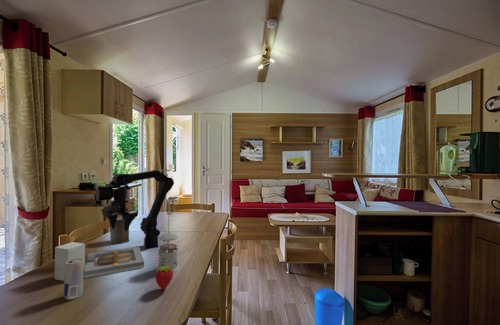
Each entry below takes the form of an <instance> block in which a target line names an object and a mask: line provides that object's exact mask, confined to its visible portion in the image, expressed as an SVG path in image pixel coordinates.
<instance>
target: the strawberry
mask: <svg viewBox="0 0 500 325" xmlns="http://www.w3.org/2000/svg"><path fill="white" fill-rule="evenodd" d="M169 267H170V266H166V265H165V266H163V267H160V268H158V267H157V268H158V269H160V270H158V272H157V271H156V273H155V277H154V278H155V282H156V284H157V285H158V287H159V288H160V289H161V291H165V290H166V289H167V287H168V286H169V285H170V283H171V281H172V279H173V276H174V272H173V270H172V269H171V268H169Z"/></svg>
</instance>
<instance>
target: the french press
mask: <svg viewBox="0 0 500 325" xmlns="http://www.w3.org/2000/svg"><path fill="white" fill-rule="evenodd" d="M166 215H172V211H170V210H169V211H166ZM167 220H168V222H167V223H168V224H167V226H168V227H167V228H168V230H167V231H168V232H167V233H163V234H160V235H159V236H158V240H159V241H163V242H167V243H163V244H162V245H159V250H158V267H157V268H156V269H155V271H156V273H157V272H158V270H160V269H158V268H160V267H163V266H165V265H166V266H170V267H169V268H171V269H172V270H173V273H175V272H177V271H179V269H180V266H179V265H178V248H177V247H178V246H177V244H176V243H170V242H169V241H171V242H172V241H174V240H177V239H178V238H179V236H178V235H177V234H176V233H171V232H170V217H168V219H167Z"/></svg>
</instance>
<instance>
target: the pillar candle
mask: <svg viewBox="0 0 500 325" xmlns="http://www.w3.org/2000/svg"><path fill="white" fill-rule="evenodd" d="M122 218H123V217H122V215H118V216H117V220H116V225H115V228H114V229H112V228H111V227H110V238H109V239H110V244H114V245H118V244H119V245H120V244H124V243H128V242H129V241H130V227H129V228H128V230H127V231H125V230H124V221H123V220H122Z"/></svg>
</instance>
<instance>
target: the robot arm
mask: <svg viewBox="0 0 500 325" xmlns="http://www.w3.org/2000/svg"><path fill="white" fill-rule="evenodd" d="M149 179H154V180H155V181H157V183H158V186H157V193H156V195H155V199H154V200H153V204H152V206H151V208H150V211H149V213H148V216H146V217H143V218H142V219H141V222H140V224H139V225H140V230H141V232H143V234H144V236H145V237H143V246H144V247H145V249H151V248H158V247H159V248H160V245H159V237H160V236H161V234H160V233H161V231H160V230H159V229H158V228H157V226H158V217H159V215H160V214H159V213H160V212H161V208H162V206H163V204H164V202H165V199H166V196H167V194H168V193H169V192H170V191H171V190H172V189H173V186H174V185H175V181H174V179H173V178H172V177H169V176H168V175H166V174H165V173H163V172H161V171H160V170H158V169H153V170H148V171H141V172H136V173H135V172H134V173H116V174H114V175H113V177H112V180H111V181H110V182H109V183H108V185H107V186H106V185H104V186H100V185H99V186H97V188H96V190H95V194H94V196H95V200H96V201H97V202H100V201H109V200H110V201H111V202H110V205H107V206H105V207H103V208H102V209H101V213H102V214H101V215H102V216H103V217H105V218H106V219H108V223H109V225H110V229H111V228H112V229H114V228H115V225H116V220H117V217H119V216H122V217H123V218H122V220H123V221H124V230H125V231H127V230H128V228H129V229H130V225H131V223H132V222H133V221H134V219H136V217H138V211H137V210H133V209H131V210H130V209H129V208H127V203H129V200H127V190H131V189H132V188H131V187H130V186H129V184H131V183H133V182H136V181H141V180H142V181H143V180H149ZM112 199H113V200H112Z"/></svg>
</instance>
